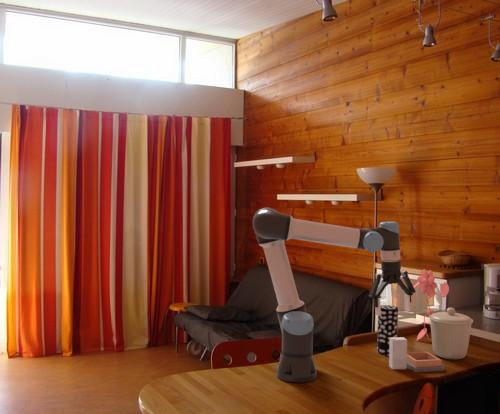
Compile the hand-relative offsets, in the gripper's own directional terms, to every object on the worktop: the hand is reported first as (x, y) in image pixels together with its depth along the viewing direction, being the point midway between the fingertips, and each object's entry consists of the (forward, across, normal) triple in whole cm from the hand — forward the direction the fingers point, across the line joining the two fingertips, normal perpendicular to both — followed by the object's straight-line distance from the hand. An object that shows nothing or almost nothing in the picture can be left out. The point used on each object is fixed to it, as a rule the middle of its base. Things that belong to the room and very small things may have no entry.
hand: (393, 313), depth 228 cm
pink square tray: (+23, +11, -2) cm, 25 cm away
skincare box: (+22, 0, -1) cm, 22 cm away
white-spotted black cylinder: (+22, +7, +18) cm, 29 cm away
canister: (+24, +31, +6) cm, 40 cm away
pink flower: (+24, +31, +25) cm, 46 cm away
